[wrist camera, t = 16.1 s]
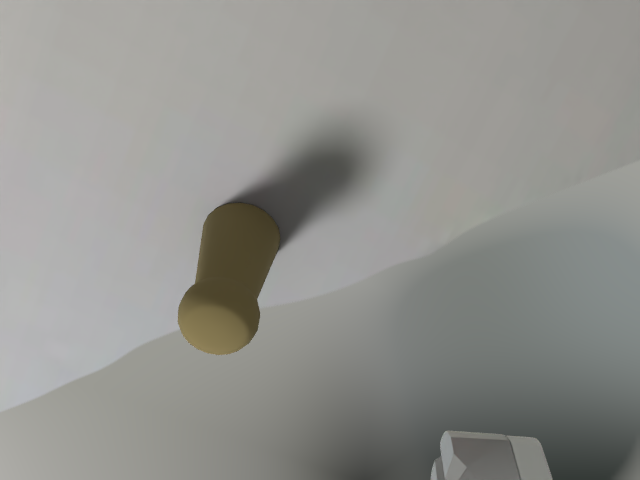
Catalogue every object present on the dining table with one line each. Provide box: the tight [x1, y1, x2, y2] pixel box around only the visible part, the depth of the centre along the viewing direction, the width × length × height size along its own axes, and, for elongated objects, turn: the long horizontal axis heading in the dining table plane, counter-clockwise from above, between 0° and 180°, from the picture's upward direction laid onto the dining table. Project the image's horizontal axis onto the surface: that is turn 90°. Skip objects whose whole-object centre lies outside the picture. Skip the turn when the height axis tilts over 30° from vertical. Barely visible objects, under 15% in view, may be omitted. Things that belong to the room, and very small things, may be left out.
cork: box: [178, 203, 280, 355], centre depth 41 cm, size 6×6×11 cm
